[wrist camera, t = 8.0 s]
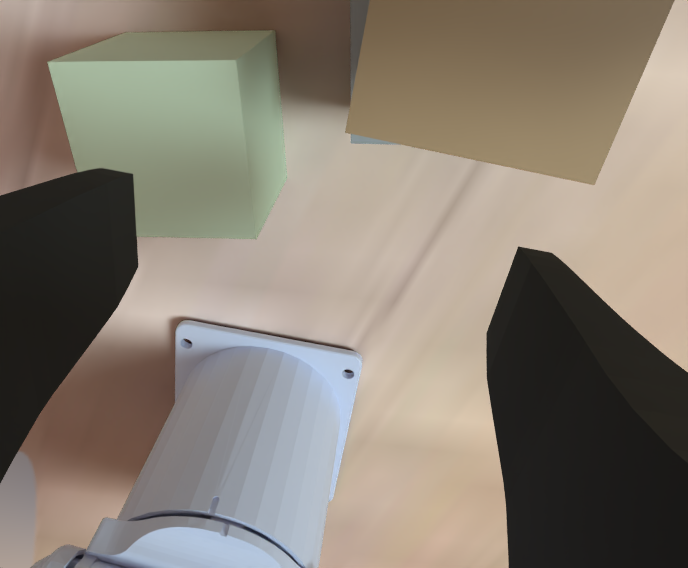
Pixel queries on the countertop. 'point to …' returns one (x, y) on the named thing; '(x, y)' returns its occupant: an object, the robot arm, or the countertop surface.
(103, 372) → the countertop surface
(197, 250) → the countertop surface
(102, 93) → the sage cube
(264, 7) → the countertop surface
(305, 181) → the countertop surface
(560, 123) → the walnut cube
